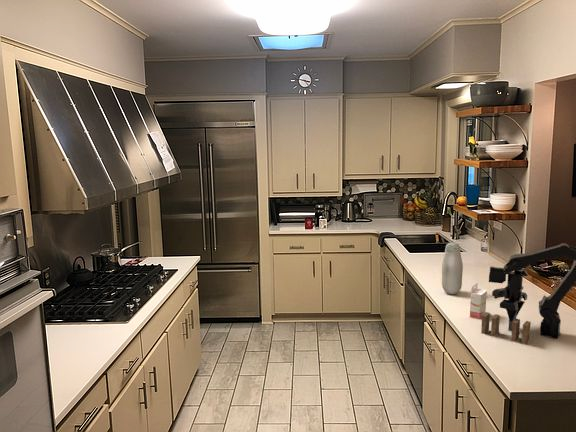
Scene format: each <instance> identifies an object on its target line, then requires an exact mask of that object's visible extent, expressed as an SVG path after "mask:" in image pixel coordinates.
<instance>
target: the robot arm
mask: <svg viewBox="0 0 576 432" xmlns="http://www.w3.org/2000/svg"><path fill="white" fill-rule="evenodd" d="M560 256H566V257H567V258H570V259H571V260H573V263H572V265H571V267H570V269H569V270H568V272H567V273H566V274H565V276H564V277H562V279H561V281H560V283H559V284H558V285H557V286H556V288H555V289H554V290H553V292H552V293H551V294H550V295H548V296H546V295H543V296H542V298H541V300H539V301H538V312H539V315H540V316H541V318H542V320H541V322H540V325H539V326H540V327H539V328H540V329H539V332H540V333H539V334H540V335H541V336H545V337H549V338H554V339H559V337H560V336H561V323H562V322H561V316H560V313H559V312H558V310H559V307H560V304H561V302H562V300H563V299H564V297H565V296H566V295H567V293H569V291H570V290H571V288H573V286H574V285H575V283H576V247H574V246H571V245H569V244H567V243H564V242H563V243H560V244H559V245H554V246H551V247H547V248H544V249H540V250H537V251H534V252H530V253H515V254H512V255H510V257H509V258H508V262H507V263H505V265H504V266H503V267H497V266H490V267H489V273H488V283H494V284H503V283H505V282H506V281H507V282H506V283H507V284H506V286H505V287H501V288H496V289H493V290H492V291H491V296H492V297H493V298H494V299H495V300H496V299H499V298H503V300H501V302H500V303H499V308H501V309H505V310H506V314H507V317H508V322H509V321H513V319H514V317H515V315H516V313H517V315H516V318H517V317H518V315H519V313H520V311H521V310H522V308H523V306H524V304H525V303H526V302H525V301H527V300H528V294H527V293H526V292H525V291H523V290H524V286H523V281H524V280H523V279H524V278H523V277H528V276H529V274H528V272H527V271H526V270H525V268H527V267H529V266H530V265H532V264H535V263H539V262H542V261H546V260H550V259H553V258H556V257H560ZM522 299H523V300H522Z"/></svg>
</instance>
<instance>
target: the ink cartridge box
mask: <svg viewBox="0 0 576 432" xmlns="http://www.w3.org/2000/svg"><path fill="white" fill-rule="evenodd" d="M478 284H479V283H478V282H476V283H475V284H473V285H472V286H471V290H470V302H469V303H470V304H469V318H474V319H478V320H480V319H482V315H483V314H484V313H486V312H487V311H486V310H487V309H486V308H487V298H488V297H487V295H488V293H487V292H488V290H486V289H482V288H481V289H480V288H478Z"/></svg>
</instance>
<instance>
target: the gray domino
mask: <svg viewBox="0 0 576 432" xmlns="http://www.w3.org/2000/svg"><path fill="white" fill-rule="evenodd" d="M516 315H517V313H516ZM516 315H515V317H514V319H513V321H514V320H515V319H517V317H516ZM517 316H518V315H517ZM513 321H509V320H508V330H507V331H509V332H512V322H513Z"/></svg>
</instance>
